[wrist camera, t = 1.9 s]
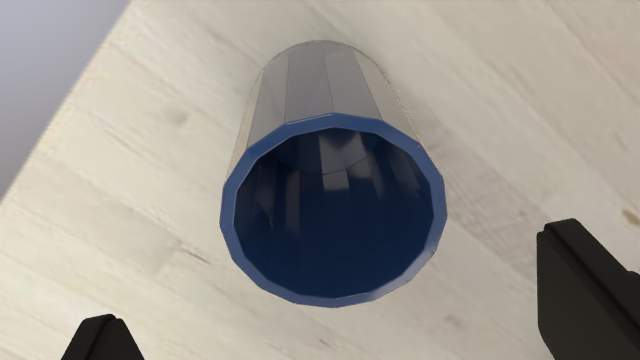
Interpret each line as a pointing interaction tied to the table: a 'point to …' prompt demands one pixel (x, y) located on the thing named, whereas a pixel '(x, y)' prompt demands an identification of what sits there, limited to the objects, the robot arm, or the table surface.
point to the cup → (329, 182)
